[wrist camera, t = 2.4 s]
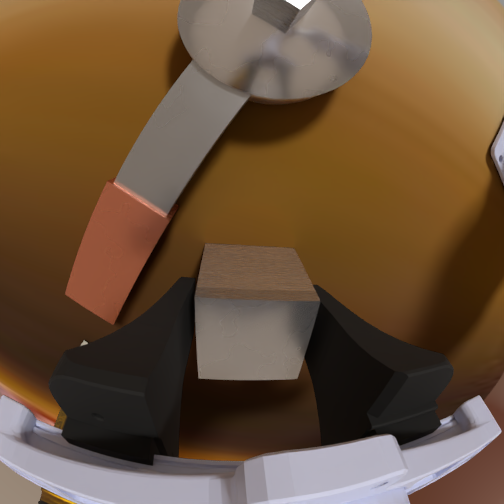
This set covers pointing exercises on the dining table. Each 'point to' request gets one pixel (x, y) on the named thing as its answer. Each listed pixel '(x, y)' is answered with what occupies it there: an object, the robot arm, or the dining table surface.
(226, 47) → the metal scoop
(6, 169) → the dining table surface
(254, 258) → the brushed metal cube
